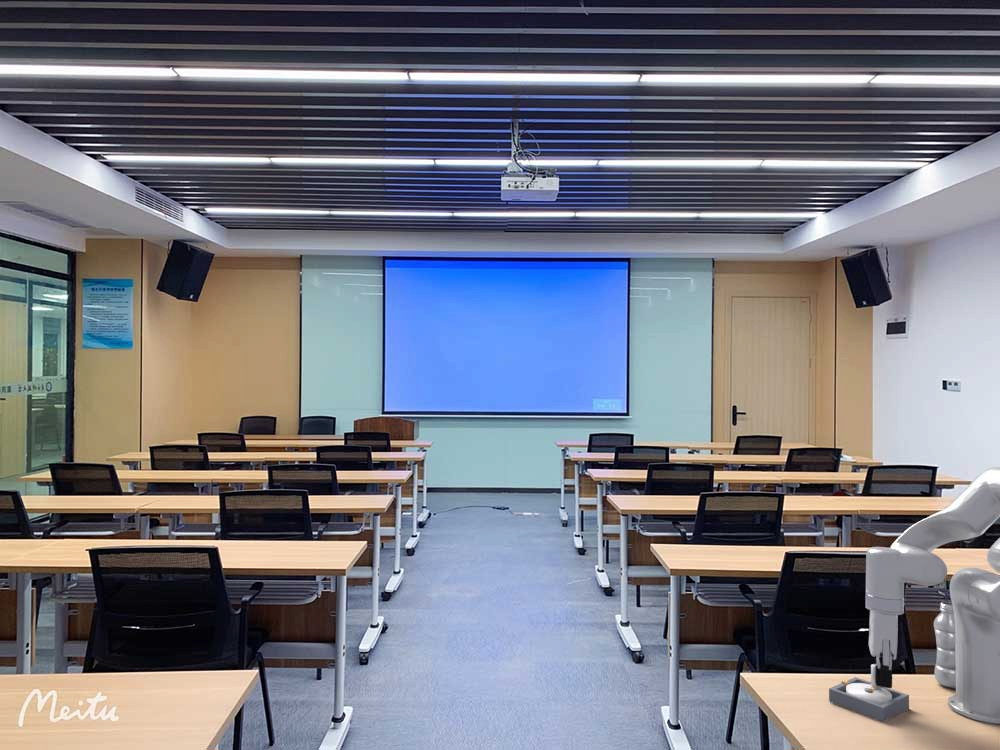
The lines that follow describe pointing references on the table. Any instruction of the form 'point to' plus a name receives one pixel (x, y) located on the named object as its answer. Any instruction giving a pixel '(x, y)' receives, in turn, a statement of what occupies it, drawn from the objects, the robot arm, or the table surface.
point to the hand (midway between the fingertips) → (883, 685)
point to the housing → (866, 707)
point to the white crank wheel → (869, 690)
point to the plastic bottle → (945, 646)
